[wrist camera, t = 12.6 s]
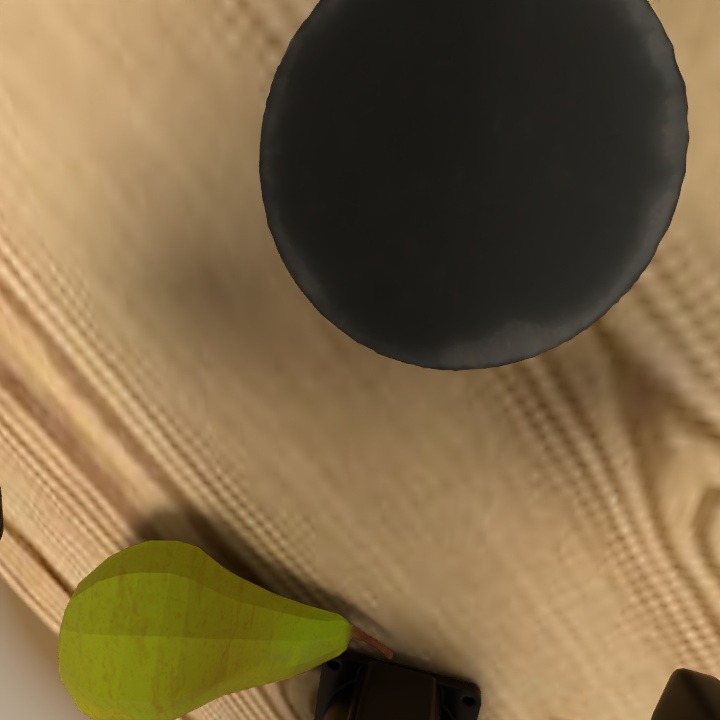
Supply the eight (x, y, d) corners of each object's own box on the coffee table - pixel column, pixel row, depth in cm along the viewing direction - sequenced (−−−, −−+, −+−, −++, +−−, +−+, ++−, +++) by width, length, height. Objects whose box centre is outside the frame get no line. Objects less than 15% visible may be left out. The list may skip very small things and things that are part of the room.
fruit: (100, 516, 23) (380, 531, 25) (80, 670, 22) (365, 670, 25) (46, 566, 16) (425, 580, 19) (15, 782, 16) (407, 767, 18)
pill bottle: (509, 314, 17) (564, 511, 7) (335, 233, 17) (139, 306, 7) (617, 117, 15) (935, -25, 5) (416, 29, 15) (302, -288, 5)
